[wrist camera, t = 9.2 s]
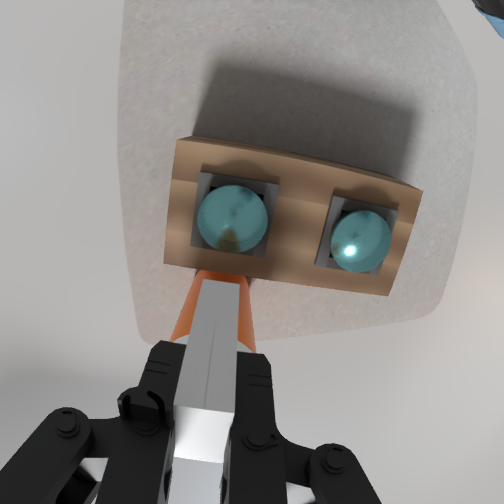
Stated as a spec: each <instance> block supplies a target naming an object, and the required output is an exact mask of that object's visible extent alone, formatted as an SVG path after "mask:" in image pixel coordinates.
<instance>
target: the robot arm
mask: <svg viewBox="0 0 504 504" xmlns="http://www.w3.org/2000/svg"><path fill="white" fill-rule="evenodd" d="M472 1H473V3H474V4H475V7H476V9H477V10H478V11H479V12H480V13H481V14H482V15H484V16H485V17H486V19H487V20H488V21H489V23H490V24H491V25H492V27H493V28H494V29H495V31H496V32H497V33H498V34H499V36H501V38H503V39H504V0H472ZM239 289H240V284H234V283H228V282H221V281H214V280H207V279H203V282H202V285H201V289H200V293H199V297H198V301H197V305H196V309H195V313H194V317H193V321H192V325H191V330H190V334H189V338H188V342H187V345H186V344H180V343H174V342H168V341H162V340H161V341H159V342H158V343H157V344H156V345H155V346H154V347H153V348H152V349H151V351H150V354H149V357H148V361H147V363H146V365H145V368H144V371H143V374H142V377H141V380H140V382H139V385H138V386H137V387H133V388H129V389H127V390H126V391H125V392H123V393H121V395H120V396H119V398H118V399H117V402H118V408H119V413H120V416H119V417H115V418H110V419H88V417H87V416H86V415H85V414H84V413H83V412H81V411H80V410H77V409H75V408H69V407H68V408H67V407H63V408H59V409H56V410H54V411H53V412H52V413H50V414H49V415H48V416H47V417H46V418H45V419H44V421H43V422H42V423H41V424H40V425H39V426H38V427H37V429H36V430H35V431H34V432H33V433H32V434H31V435H30V437H29V438H28V439H27V440H26V441H25V442H24V443H23V445H22V446H21V447H20V448H19V449H18V451H17V452H16V453H15V454H14V455H13V456H12V458H11V459H10V460H9V461H8V462H7V464H6V465H5V466H4V467H3V468H2V469H1V471H0V504H91V503H92V501H93V500H94V498H95V497H96V495H97V493H98V495H97V499H96V502H95V504H168V498H169V491H170V484H171V478H172V463H173V456H175V457H181V458H187V459H195V460H201V461H209V462H218V463H223V462H224V463H223V474H222V478H221V482H220V486H219V488H221V493H220V504H382V503H381V502H380V500H379V498H378V496H377V494H376V492H375V491H374V489H373V487H372V485H371V483H370V482H369V480H368V478H367V476H366V474H365V473H364V471H363V469H362V467H361V465H360V463H359V462H358V460H357V458H356V456H355V455H354V454H353V453H352V452H351V450H349V449H348V448H346V447H344V446H342V445H338V444H334V443H332V444H324V445H321V446H319V447H317V448H316V449H315V450H314V449H310V448H307V447H303V446H300V445H297V444H294V443H292V442H290V441H288V440H287V439H285V438H284V437H283V436H282V435H281V434H280V432H279V431H278V429H277V426H276V422H275V410H274V398H273V388H272V379H271V378H272V375H271V365H270V363H269V361H268V360H267V358H266V357H265V355H264V354H257V353H249V352H241V351H237V336H238V312H239Z"/></svg>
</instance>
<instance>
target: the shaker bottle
mask: <svg viewBox="0 0 504 504" xmlns="http://www.w3.org/2000/svg"><path fill="white" fill-rule="evenodd" d="M203 279H207V280H214V281H221V282H228V283H234V284H240V289H239V312H238V336H237V351H241V352H249V353H256V348H255V339H254V330H253V322H252V313H251V304H250V296H249V287H248V281H247V278H246V277H245V276H239V275H232V274H226V273H219V272H213V271H207V270H199V272H198V273H197V274H196V276H195V278H194V281H193V283H192V286H191V288H190V291H189V293H188V296H187V298H186V301H185V303H184V306H183V308H182V311H181V313H180V316H179V318H178V321H177V323H176V326H175V329H174V331H173V334H172V336H171V339H170V342H174V343H180V344H186V345H187V342H188V338H189V334H190V330H191V325H192V321H193V317H194V313H195V309H196V305H197V301H198V297H199V293H200V289H201V285H202V282H203Z"/></svg>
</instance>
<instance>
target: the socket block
mask: <svg viewBox="0 0 504 504" xmlns="http://www.w3.org/2000/svg"><path fill="white" fill-rule="evenodd" d="M229 184H235V185H241V186H245V187H247V188H249V189H251V190H252V191H254V192H255V193H256V194H257V195H258V196H259V197H260V198H261V200H262V201H263V203H264V205H265V208H266V212H267V218H268V222H267V228H266V231H265V234H264V236H263V237H262V239H261V240H260V241H259V242H258V243H257V244H256V245H255V246H254V247H252V248H251V249H249V250H246V251H244V252H240V253H226V252H222V251H219V250H217V249H215V248H213V247H212V246H210V245H209V244H208V243H207V242H206V241H205V240H204V238H203V237H202V235H201V233H200V231H199V228H198V221H197V217H198V211H199V208H200V206H201V204H202V202H203V200H204V199H205V197H206V196H207V195H208V194H209V193H210V192H211V191H213V190H214V189H215V188H216V187H220V186H224V185H229ZM422 193H423V191H421V190H419V189H417V188H415V187H413V186H411V185H409V184H406V183H404V182H402V181H400V180H398V179H395V178H393V177H391V176H387V175H384V174H380V173H376V172H373V171H369V170H365V169H361V168H357V167H354V166H350V165H346V164H341V163H337V162H333V161H329V160H325V159H320V158H316V157H311V156H307V155H302V154H297V153H292V152H287V151H282V150H277V149H272V148H266V147H261V146H255V145H249V144H244V143H237V142H231V141H225V140H218V139H211V138H204V137H196V136H189V137H185V138H181V139H178V140H177V141H176V149H175V156H174V163H173V171H172V179H171V188H170V197H169V206H168V216H167V227H166V239H165V251H164V264H170V265H176V266H182V267H188V268H194V269H200V270H207V271H213V272H219V273H226V274H232V275H239V276H245V277H252V278H259V279H265V280H272V281H279V282H286V283H293V284H300V285H307V286H314V287H322V288H329V289H336V290H344V291H351V292H359V293H367V294H375V295H382V296H388V295H389V293H390V290H391V288H392V285H393V282H394V280H395V277H396V274H397V272H398V269H399V266H400V263H401V261H402V258H403V255H404V252H405V249H406V246H407V243H408V240H409V237H410V234H411V231H412V228H413V224H414V221H415V218H416V214H417V211H418V208H419V204H420V201H421V197H422ZM341 210H345V211H350V212H352V211H355V210H370V211H373V212H375V213H376V214H378V215H379V216H380V217H382V218H383V219H384V220H385V221H386V223H387V224H388V226H389V228H390V231H391V246H390V249H389V252H388V254H387V256H386V257H385V259H384V260H383V261H382V262H381V263H380V264H379V265H378V266H376V267H375V268H373V269H371V270H369V271H366V272H361V273H355V272H350V271H347V270H345V269H343V268H342V267H340V266H339V265H338V263H337V262H336V261H335V259H334V257H333V256H332V253H331V251H330V244H329V242H330V235H331V232H332V230H333V227H334V226H335V224H336V223H337V222H338V220H339V218H340V214H341Z"/></svg>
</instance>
